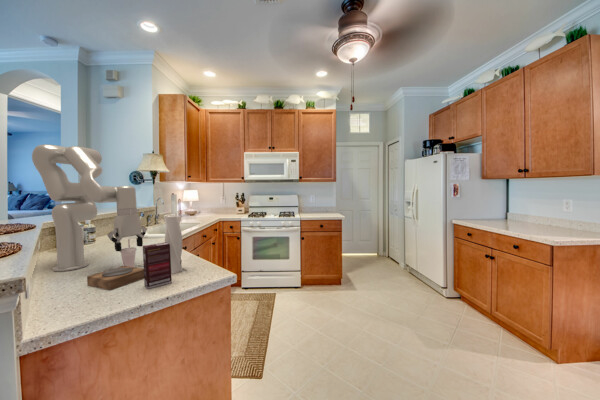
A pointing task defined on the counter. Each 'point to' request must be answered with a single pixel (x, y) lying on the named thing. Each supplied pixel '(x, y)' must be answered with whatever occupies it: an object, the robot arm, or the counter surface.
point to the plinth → (115, 277)
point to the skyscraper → (174, 241)
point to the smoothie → (128, 255)
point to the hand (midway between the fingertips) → (129, 248)
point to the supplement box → (157, 265)
